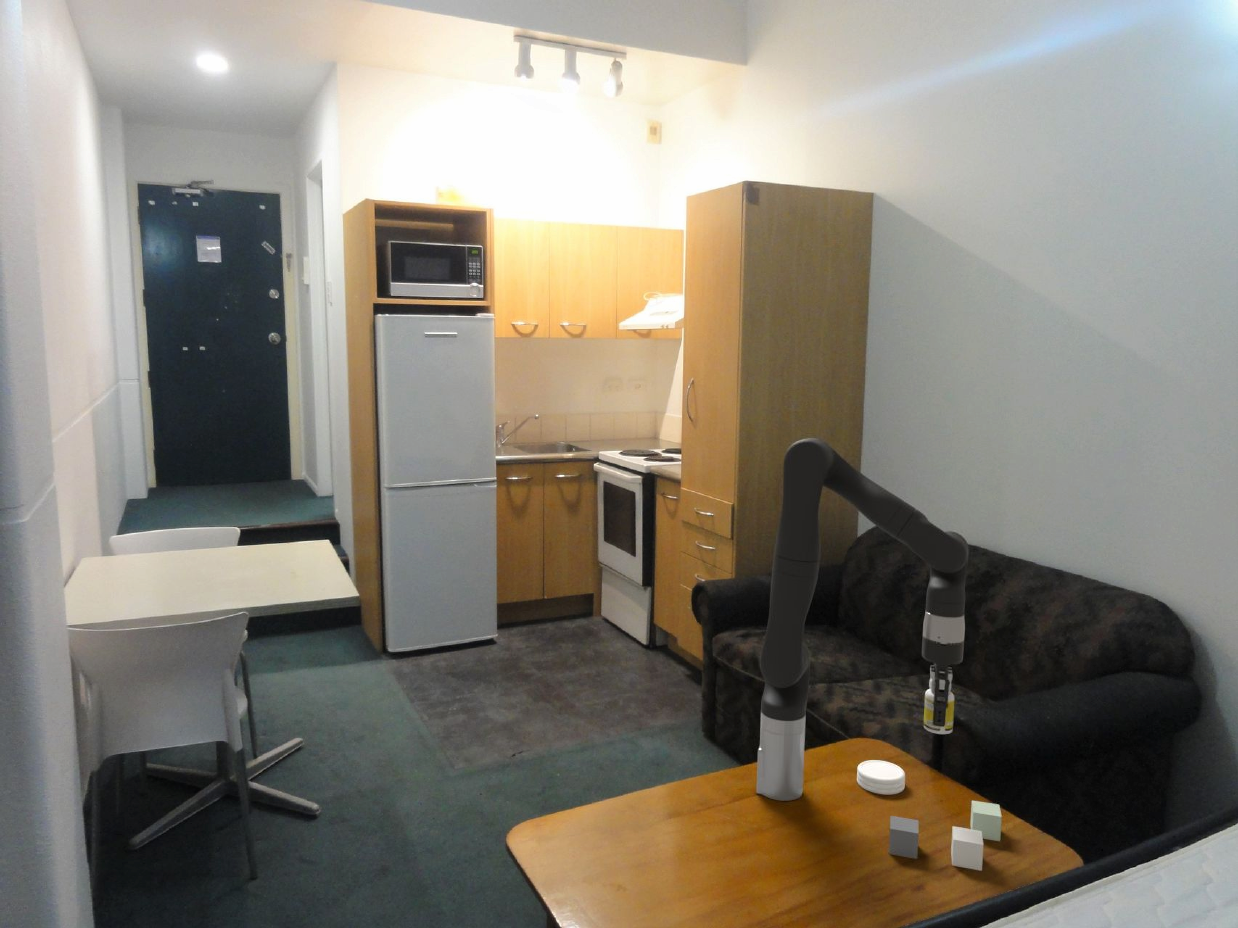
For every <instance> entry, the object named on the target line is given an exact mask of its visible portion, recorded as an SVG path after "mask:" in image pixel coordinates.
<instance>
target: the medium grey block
mask: <svg viewBox="0 0 1238 928" xmlns="http://www.w3.org/2000/svg"><path fill="white" fill-rule="evenodd" d="M889 819H890V821H889V838H888V839H889V841H888V843H889V844H888V854H889V855H894V856H899V857H905V858H909V859H910V858H911V859H915V860H918V853H919V851H918V850H919V849H918V847H919V829H920V828H919V820H918V819H913V818H906V817H900V816H894V815H890V818H889Z"/></svg>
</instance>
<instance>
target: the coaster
mask: <svg viewBox="0 0 1238 928" xmlns="http://www.w3.org/2000/svg"><path fill="white" fill-rule="evenodd" d="M856 770H857V773H856V782H857V784H858V785H859V787H861V788H862V789H864V790H866V791H868V792H870V793H874V794H877V795H886V796H887V795H888V796H889V795H890V796H891V795H897V794H899V793H901V792H903V791H904V789H905V787H906V785H905V783H906V773H905V771H904V770H903V768H901V767H900V766H899V765H896V764H895V763H892V762H889V761H886V760H879V759H878V760H877V759H876V760H875V759H871V760H864V761H862V762H861V763H859V764H858V766H857V768H856Z"/></svg>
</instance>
